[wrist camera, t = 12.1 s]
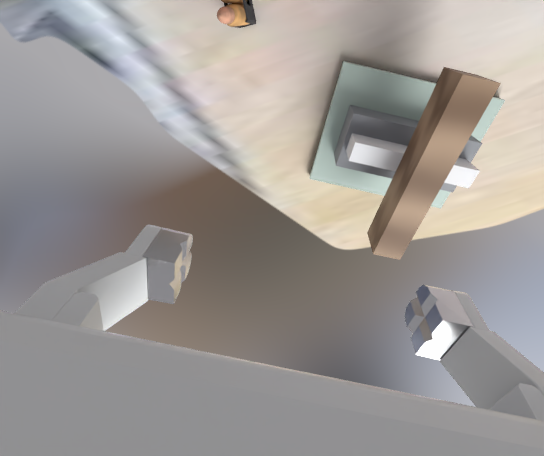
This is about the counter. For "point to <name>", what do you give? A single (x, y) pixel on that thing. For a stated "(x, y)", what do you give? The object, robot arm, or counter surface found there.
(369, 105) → the ridge stand
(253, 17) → the ammunition clip
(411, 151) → the walnut batten
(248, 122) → the counter surface
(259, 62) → the counter surface
